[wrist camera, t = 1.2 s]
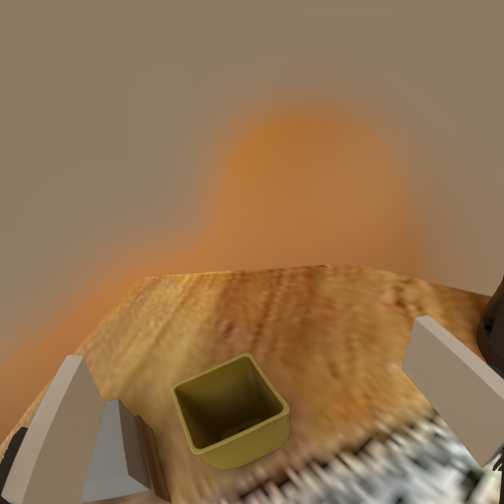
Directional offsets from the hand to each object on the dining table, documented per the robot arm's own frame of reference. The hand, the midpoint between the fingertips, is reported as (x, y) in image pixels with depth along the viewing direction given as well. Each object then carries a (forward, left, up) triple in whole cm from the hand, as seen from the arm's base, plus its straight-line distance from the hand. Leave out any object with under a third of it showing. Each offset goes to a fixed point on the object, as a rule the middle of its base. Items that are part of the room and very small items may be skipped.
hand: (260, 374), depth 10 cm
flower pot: (+2, -10, -21) cm, 24 cm away
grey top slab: (+18, -11, -18) cm, 27 cm away
